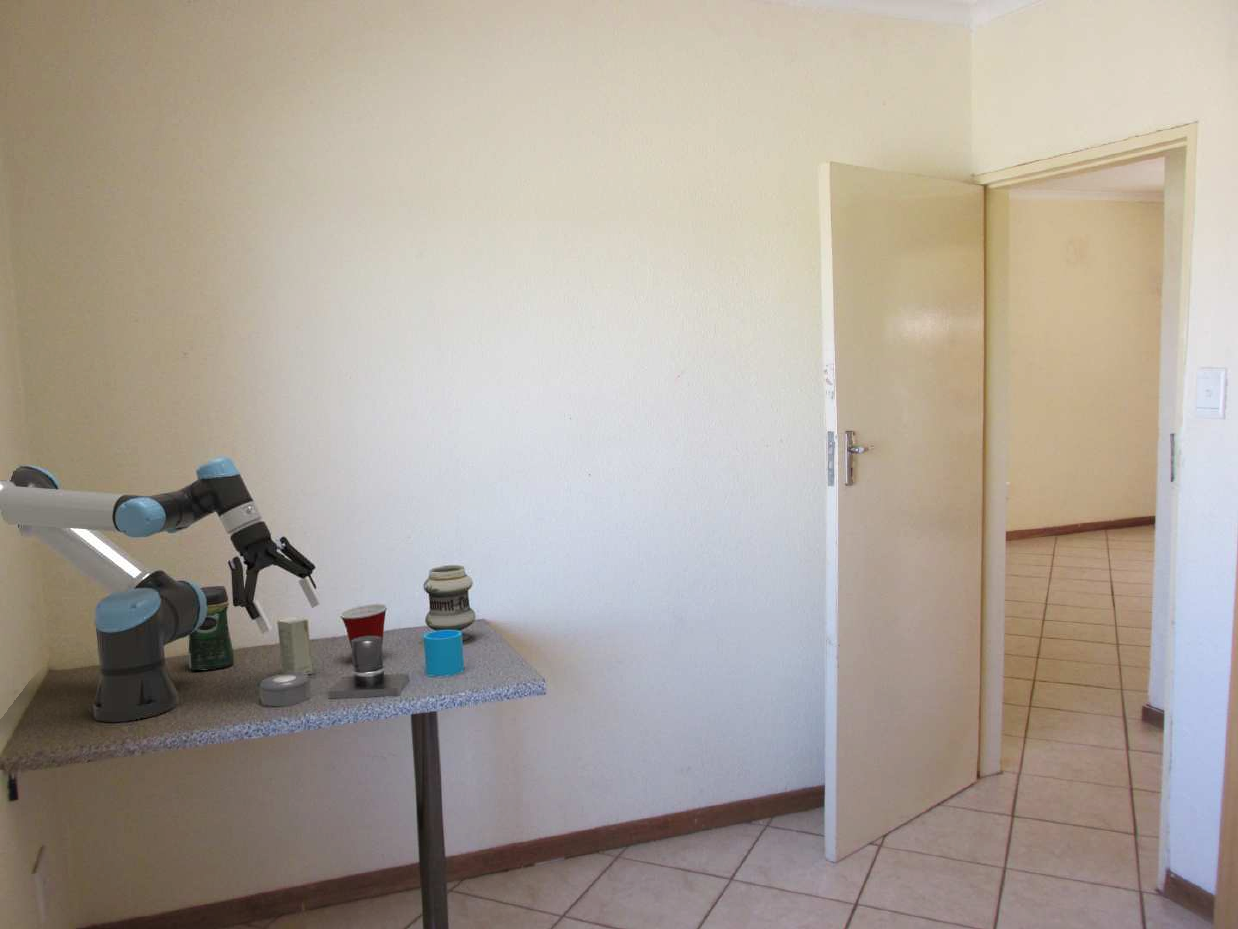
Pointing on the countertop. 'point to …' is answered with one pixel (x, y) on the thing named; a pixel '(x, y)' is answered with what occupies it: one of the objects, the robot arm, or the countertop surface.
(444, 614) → the apothecary jar
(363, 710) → the countertop surface
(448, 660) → the mug
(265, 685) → the cap
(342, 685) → the gray flat-based fixture
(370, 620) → the plastic cup
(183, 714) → the countertop surface
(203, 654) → the coffee jar
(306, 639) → the skincare box
